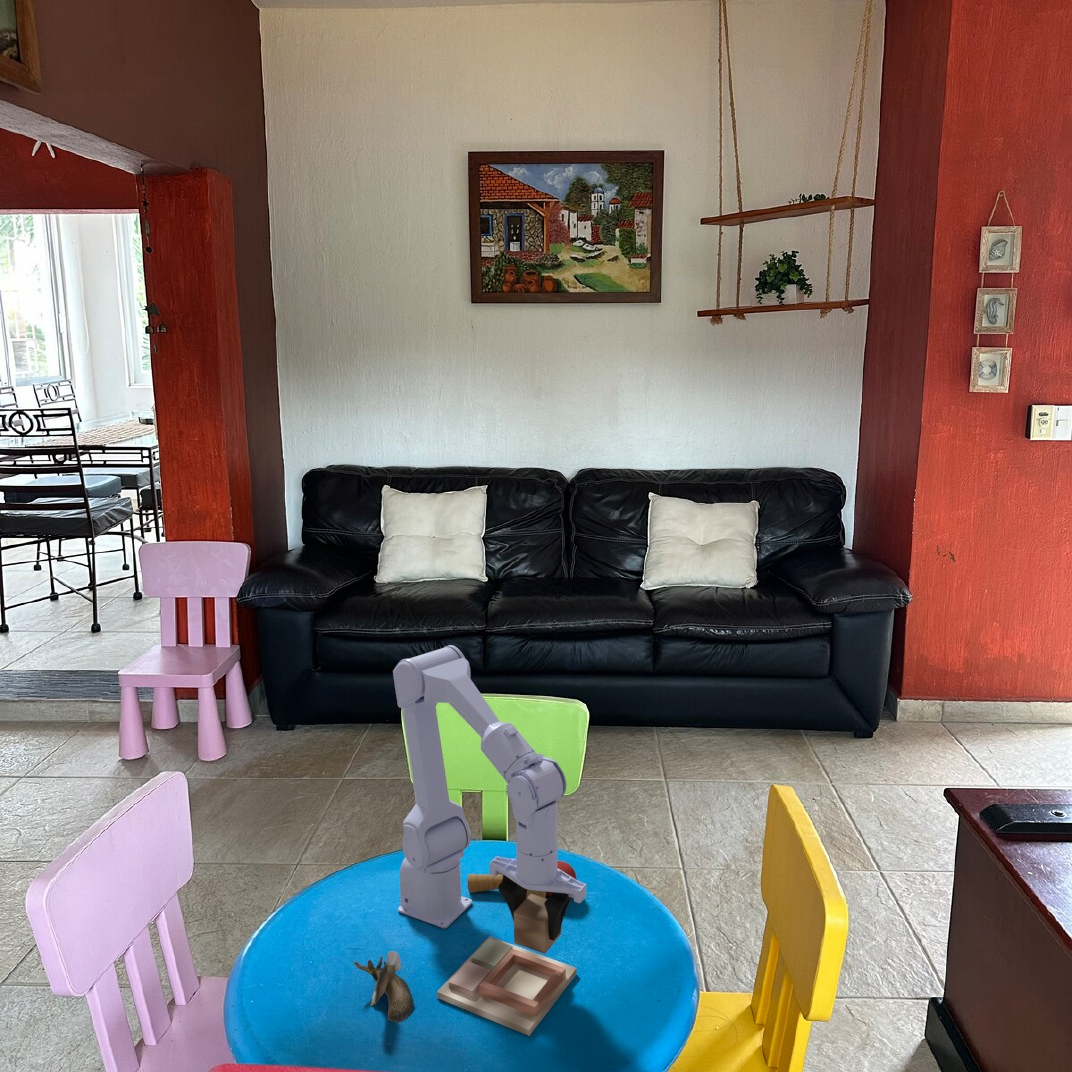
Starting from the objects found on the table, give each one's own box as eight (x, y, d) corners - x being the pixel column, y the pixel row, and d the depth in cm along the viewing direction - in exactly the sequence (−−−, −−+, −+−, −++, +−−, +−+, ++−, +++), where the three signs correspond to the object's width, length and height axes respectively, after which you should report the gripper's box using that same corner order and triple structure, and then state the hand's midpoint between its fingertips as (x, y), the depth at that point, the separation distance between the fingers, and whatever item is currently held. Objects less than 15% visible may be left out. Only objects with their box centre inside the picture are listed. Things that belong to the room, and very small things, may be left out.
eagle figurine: (341, 990, 138) (364, 1018, 130) (362, 940, 140) (386, 965, 132) (386, 1001, 142) (411, 1029, 134) (406, 952, 143) (432, 977, 135)
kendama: (467, 915, 159) (577, 906, 157) (462, 877, 158) (572, 868, 156) (475, 894, 166) (580, 886, 164) (470, 858, 166) (575, 850, 164)
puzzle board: (437, 997, 138) (436, 982, 137) (489, 941, 150) (489, 927, 149) (529, 1035, 131) (529, 1020, 130) (576, 973, 143) (576, 959, 142)
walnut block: (514, 943, 139) (513, 912, 138) (531, 923, 143) (530, 893, 142) (545, 954, 136) (544, 922, 135) (561, 934, 141) (561, 903, 139)
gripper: (596, 844, 136) (595, 929, 139) (506, 818, 143) (507, 900, 146) (573, 870, 130) (573, 958, 133) (481, 842, 137) (482, 926, 140)
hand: (537, 930), depth 139 cm, fingers closed on walnut block, 5 cm apart
